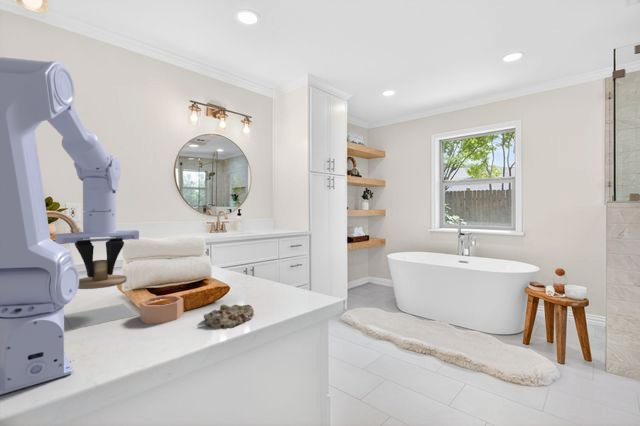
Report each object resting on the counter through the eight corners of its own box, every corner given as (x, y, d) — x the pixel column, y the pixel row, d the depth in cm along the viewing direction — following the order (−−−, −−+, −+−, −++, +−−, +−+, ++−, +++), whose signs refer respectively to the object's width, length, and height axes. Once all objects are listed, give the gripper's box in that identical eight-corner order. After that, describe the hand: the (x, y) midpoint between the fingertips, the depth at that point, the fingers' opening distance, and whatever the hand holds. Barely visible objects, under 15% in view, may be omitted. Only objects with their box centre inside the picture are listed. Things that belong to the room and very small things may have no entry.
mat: (137, 317, 68) (137, 315, 68) (72, 331, 60) (72, 329, 60) (122, 306, 75) (122, 303, 75) (63, 317, 68) (63, 315, 68)
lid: (132, 283, 68) (132, 260, 68) (76, 291, 61) (76, 266, 61) (119, 276, 74) (119, 255, 74) (67, 283, 67) (67, 260, 67)
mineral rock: (214, 322, 60) (200, 301, 66) (211, 342, 61) (197, 320, 67) (264, 312, 67) (247, 294, 73) (260, 330, 68) (244, 311, 74)
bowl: (187, 319, 67) (187, 300, 67) (149, 329, 62) (148, 308, 62) (173, 310, 73) (173, 293, 72) (136, 319, 67) (136, 300, 67)
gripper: (132, 211, 75) (132, 268, 75) (52, 211, 65) (53, 277, 65) (142, 211, 70) (142, 272, 71) (57, 211, 60) (58, 283, 60)
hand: (100, 275), depth 67 cm, fingers closed on lid, 3 cm apart
